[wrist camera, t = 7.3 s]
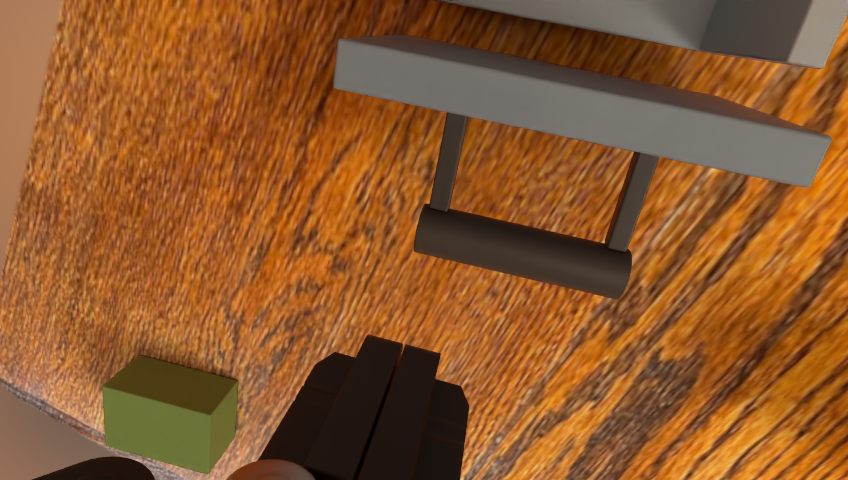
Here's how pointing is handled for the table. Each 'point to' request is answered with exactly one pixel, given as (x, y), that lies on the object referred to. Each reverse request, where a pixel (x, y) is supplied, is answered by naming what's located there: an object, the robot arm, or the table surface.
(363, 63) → the drawer
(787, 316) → the table surface
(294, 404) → the robot arm
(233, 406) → the block
